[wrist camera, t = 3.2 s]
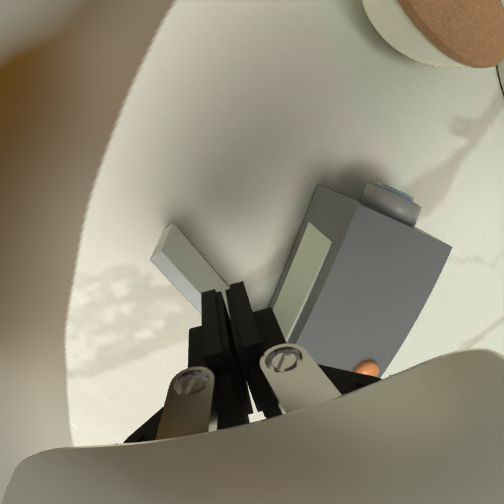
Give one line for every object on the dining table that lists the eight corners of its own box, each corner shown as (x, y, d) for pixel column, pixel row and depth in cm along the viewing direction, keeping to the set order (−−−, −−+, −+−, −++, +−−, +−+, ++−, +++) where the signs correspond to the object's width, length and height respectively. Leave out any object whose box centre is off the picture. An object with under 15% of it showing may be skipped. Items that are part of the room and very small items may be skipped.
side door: (160, 231, 21) (144, 265, 15) (173, 221, 20) (161, 252, 15) (250, 331, 24) (261, 380, 19) (262, 323, 24) (276, 372, 19)
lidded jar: (355, 75, 19) (438, 50, 10) (323, -42, 15) (376, -103, 6) (457, 81, 19) (539, 78, 10) (428, -22, 15) (495, -51, 6)
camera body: (323, 161, 21) (373, 174, 14) (409, 200, 22) (468, 225, 16) (258, 327, 25) (274, 389, 18) (342, 342, 26) (374, 396, 20)
